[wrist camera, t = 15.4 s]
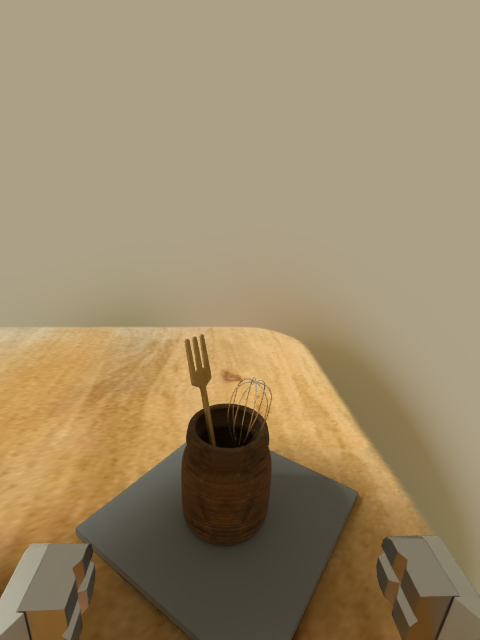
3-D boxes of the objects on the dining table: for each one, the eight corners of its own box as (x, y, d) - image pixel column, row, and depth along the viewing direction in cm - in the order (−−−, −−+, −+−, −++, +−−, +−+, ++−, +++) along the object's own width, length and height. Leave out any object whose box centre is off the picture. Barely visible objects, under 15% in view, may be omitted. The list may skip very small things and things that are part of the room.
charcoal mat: (76, 535, 23) (75, 528, 23) (211, 428, 34) (211, 422, 34) (262, 703, 16) (263, 695, 16) (356, 498, 27) (358, 492, 27)
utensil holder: (226, 571, 21) (234, 390, 17) (161, 507, 24) (154, 349, 20) (285, 509, 25) (302, 353, 21) (221, 464, 29) (225, 325, 25)
